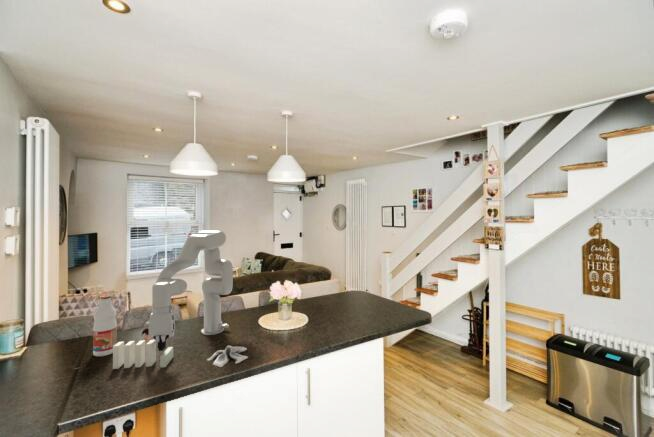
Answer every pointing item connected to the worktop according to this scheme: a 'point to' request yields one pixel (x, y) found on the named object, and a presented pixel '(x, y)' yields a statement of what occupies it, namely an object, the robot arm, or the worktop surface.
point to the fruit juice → (104, 327)
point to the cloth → (228, 355)
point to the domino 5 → (166, 357)
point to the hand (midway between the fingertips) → (161, 349)
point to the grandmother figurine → (146, 333)
